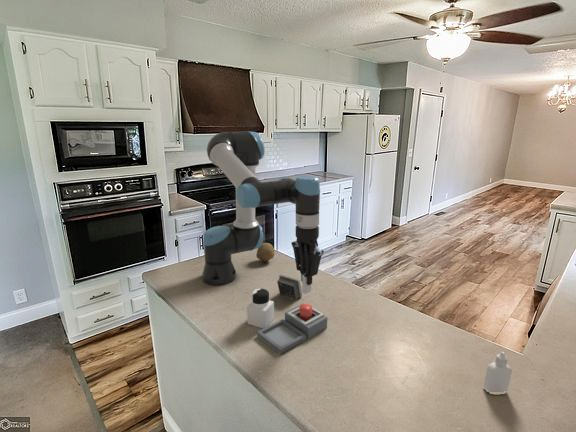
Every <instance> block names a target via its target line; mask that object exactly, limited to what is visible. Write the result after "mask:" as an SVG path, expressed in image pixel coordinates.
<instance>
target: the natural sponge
mask: <svg viewBox="0 0 576 432" xmlns="http://www.w3.org/2000/svg"><path fill="white" fill-rule="evenodd" d="M275 252H276V251H275V248H274V246H273V245H272V244H271V243H269V242H262V245H261V246H260V247H259V248H257V249H256V254H255V256H256V258H257V259H258V260H260V261H263V262H266V263H267V262H269V261H270V260H272V259H273V258H274V257H275Z"/></svg>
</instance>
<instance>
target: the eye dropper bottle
mask: <svg viewBox="0 0 576 432" xmlns="http://www.w3.org/2000/svg"><path fill="white" fill-rule="evenodd" d="M508 361H509V360H508V357H507V356H506V352H504V351H501V352H500V353H499V354H496V357H495V361H493V362H491V363H489V364H488V365H487V367H486V371H485V372H486V373H485V377H484V382H483V386H484V387H485V388H486V389H487V390H488V391H490V392H504V391H507V390H509V386H510V382H511V378H512V372H513V370H512V367H511V366H510V365H509V364H508ZM507 392H508V391H507Z"/></svg>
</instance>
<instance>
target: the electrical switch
mask: <svg viewBox="0 0 576 432" xmlns="http://www.w3.org/2000/svg"><path fill="white" fill-rule="evenodd" d="M278 276H279V277H278V278H279V279H278V280H277V281H276V284H277V286H278V287H277V288H278V291H279V296H281V297H284V298H287V299H291V300H294V301H297V300H298V299H299V298H300V299H301V298H302V297H303V293H302V284H301V282H300V281H301V280H300V279H298V278H296V277H293V276H290V275H289V276H288V275H286V274H283V273H281V274H279V275H278Z"/></svg>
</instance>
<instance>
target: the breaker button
mask: <svg viewBox="0 0 576 432" xmlns="http://www.w3.org/2000/svg"><path fill="white" fill-rule="evenodd" d="M299 305H300V309H299V317H300V318H301V319H303V320H305V321H307V320H309V319H311V318H312V307H313V306H312V305H311V304H309V303H302V305H301V304H299Z"/></svg>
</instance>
